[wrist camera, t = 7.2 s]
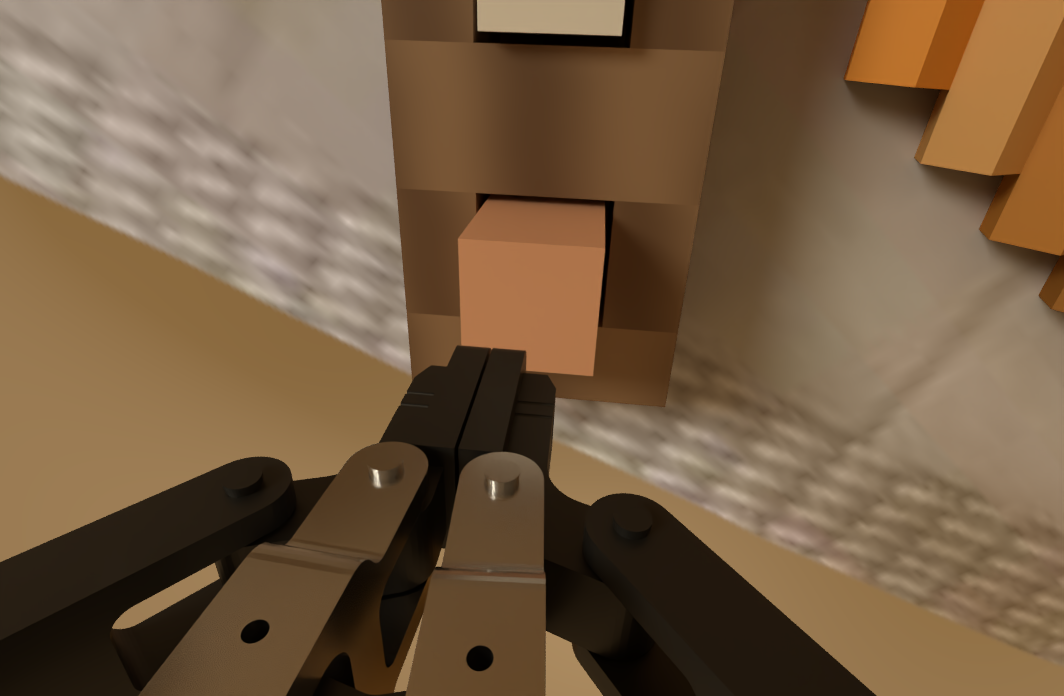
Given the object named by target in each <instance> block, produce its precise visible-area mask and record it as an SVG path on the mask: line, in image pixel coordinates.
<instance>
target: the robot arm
mask: <svg viewBox="0 0 1064 696" xmlns="http://www.w3.org/2000/svg"><path fill="white" fill-rule="evenodd" d="M526 358H527V356H526V350H513V349H501V348H492V350H491V348H488V347H476V346H463V345H457V346H456V348H455V350H454V352H453V354H452V356H451V359H450V361H449V363H448V365H447V366H435V365H431V366H429V367H428V368H426V369H425V370H424V371H422V372H421V373H419V374H418V375H417V376H415V377H414V379H413V381H412V383H411V385H410V387H409V388H408V390H407V394H405V396H404V398H403V399H402V401H401V405H400V406H399V407H398V409H397V411H396V412H395V414H394V416H393V418H392V420H391V422H390V423H389V425H388V427H387V429H386V431H385V433H384V434H383V437H382V438H381V440H380V442H379V443H377V444H373V445H370V446H367V447H365V448H363V449H361V450H360V451H358V452H356V453H355V454H354V455H352V456H351V457H350V458H349V459H348V461H347V462H346V463H345V464H344V466H343V467H342V469H341V470H340V472H339V473H338V474H336V475H332V476H327V477H320V478H312V479H305V480H297V481H293V479H292V474H291V471H290V468H289V467H288V466H287V465H286V464H285V463H284V462H282V461H280V460H278V459H275V458H270V457H250V458H244V459H240V460H236V461H233V462H231V463H228V464H226V465H223V466H221V467H219V468H216V469H214V470H212V471H210V472H207V473H205V474H203V475H200V476H198V477H196V478H193V479H191V480H189V481H186V482H184V483H182V484H180V485H177V486H175V487H173V488H170V489H168V490H166V491H163V492H161V493H159V494H156V495H154V496H152V497H149V498H147V499H145V500H143V501H140V502H138V503H136V504H133V505H131V506H129V507H127V508H124V509H122V510H120V511H117V512H115V513H113V514H111V515H108V516H106V517H103V518H101V519H99V520H96V521H94V522H92V523H90V524H87V525H85V526H83V527H80V528H78V529H76V530H74V531H71V532H69V533H67V534H64V535H62V536H60V537H57V538H55V539H53V540H50V541H48V542H46V543H43V544H41V545H39V546H37V547H34V548H32V549H30V550H27V551H25V552H23V553H21V554H18V555H16V556H14V557H11V558H9V559H7V560H5V561H2V562H0V696H545V687H546V686H545V684H546V679H545V678H546V676H545V675H546V665H545V664H546V663H545V662H546V657H545V656H546V651H545V649H546V645H545V644H546V633H545V632H546V631H548V632H550V633H552V634H554V635H557V636H559V637H561V638H563V639H565V640H567V641H569V642H572V646H573V651H574V653H575V656H576V658H577V660H578V661H579V663H580V664H581V666H582V667H583V668H584V670H585V671H586V672H587V674H588V675H589V677H590V678H591V679H592V681H593V682H594V684H596V686H597V688H598V689H599V690H600V692H601V693H602V695H603V696H876V695H875V694H874V693H873V692H872V691H870V690H869V689H868V688H867V687H866V686H865V685H864V684H862V682H860V681H859V680H858V679H857V678H856V677H855V676H854V675H852V674H851V673H850V672H849V671H848V670H847V669H846V668H845V667H843V666H842V665H841V664H840V663H839V662H838V661H837V660H836V659H834V658H833V657H832V656H831V655H830V654H829V653H828V652H826V651H825V650H824V649H823V648H822V647H821V646H820V645H819V644H817V643H816V642H815V641H814V640H813V639H812V638H811V637H810V636H808V635H807V634H806V633H805V632H804V631H803V630H802V629H800V628H799V627H798V626H797V625H796V624H795V623H794V622H792V621H791V620H790V619H789V618H788V617H787V616H786V615H784V614H783V613H782V612H781V611H780V610H779V609H778V608H777V607H776V606H774V605H773V604H772V603H771V602H770V601H769V600H767V599H766V598H765V597H764V596H763V595H762V594H761V593H760V592H759V591H757V590H756V589H755V588H754V587H753V586H752V585H751V584H749V583H748V582H747V581H746V580H745V579H744V578H743V577H742V576H741V575H739V574H738V573H737V572H736V571H735V570H734V569H733V568H731V567H730V566H729V565H728V564H727V563H726V562H725V561H723V560H722V559H721V558H720V557H719V556H718V555H717V554H716V553H714V552H713V551H712V550H711V549H710V548H709V547H708V546H707V545H705V544H704V543H703V542H702V541H701V540H699V538H698V537H696V536H695V535H694V534H693V533H692V532H691V531H689V530H688V529H687V528H686V527H685V526H684V525H683V524H682V523H681V522H679V521H678V520H677V519H676V518H675V517H674V516H673V515H672V514H670V513H669V512H668V511H667V510H666V509H665V508H663V507H662V506H661V505H659V504H658V503H656V502H654V501H653V500H650V499H648V498H646V497H643V496H639V495H634V494H626V493H620V494H612V495H608V496H605V497H602V498H600V499H599V500H597V501H596V502H595V503H593V504H592V505H591V506H589V505H587V504H584V503H581V502H578V501H576V500H573V499H571V498H569V497H567V496H566V495H564V494H563V493H562V492H560V491H559V490H558V489H557V488H556V487H555V486H554V484H553V483H552V482H551V480H550V478H549V469H550V460H551V451H552V439H553V425H554V411H555V397H556V388H555V386H554V384H553V383H552V381H551V379H550V378H549V376H548V375H543V374H531V373H526ZM441 548H445V552H444V557H443V562H442V566H441V567H435V566H436V564H437V561H438V557H439V554H440V551H441ZM213 563H215V565H216V568H217V571H218V574H219V577H220V579H218V580H217V581H215V582H213V583H211V584H210V585H208V586H206V587H204V588H202V589H200V590H199V591H197V592H195V593H193V594H191V595H190V596H188V597H186V598H185V599H183V600H181V601H179V602H177V603H175V604H173V605H172V606H170V607H168V608H167V609H164V610H163V611H161V612H159V613H157V614H155V615H154V616H152V617H150V618H148V619H146V620H145V621H143V622H141V623H139V624H137V625H135V626H133V627H130V628H126V629H113V628H112V626H113V624H114V623H115V621H116V620H117V619H118V618H119V617H120V616H121V615H122V614H123V613H124V612H125V611H127V610H128V609H129V608H131V607H133V606H134V605H136V604H138V603H140V602H142V601H143V600H145V599H147V598H149V597H151V596H153V595H155V594H157V593H159V592H160V591H162V590H164V589H166V588H168V587H170V586H172V585H174V584H175V583H177V582H179V581H181V580H183V579H185V578H187V577H188V576H190V575H192V574H194V573H196V572H198V571H199V570H202V569H203V568H205V567H207V566H209V565H211V564H213ZM422 615H423V617H422ZM421 618H422V622H421V627H420V631H419V635H418V640H417V645H416V649H415V654H414V659H413V663H412V668H411V673H410V677H409V682H408V687H407V691H402V692H395V693H394V690H395V686H396V683H397V679H398V677H399V674H400V672H401V669H402V666H403V664H404V661H405V659H406V656H407V653H408V651H409V649H410V646H411V643H412V641H413V638H414V636H415V633H416V631H417V628H418V626H419V623H420V620H421Z"/></svg>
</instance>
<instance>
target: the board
mask: <svg viewBox="0 0 1064 696" xmlns="http://www.w3.org/2000/svg"><path fill="white" fill-rule="evenodd" d="M381 3H382V15H383V28H384V40H385V52H386V64H387V76H388V89H389V101H390V113H391V125H392V138H393V150H394V162H395V174H396V186H397V199H398V211H399V223H400V235H401V248H402V260H403V272H404V284H405V296H406V309H407V321H408V333H409V345H410V358H411V370H412V381H413V379H414V377H415V376H417V375H418V374H419V373H421V372H422V371H424V370H425V369H426V368H428V367H429V366H431V365H435V366H447V365H448V363H449V361H450V359H451V356H452V354H453V352H454V350H455V348H456V346H457V345H461V317H460V286H459V256H458V238H459V237H460V235H461V234H462V233H463V231H464V230H465V228H466V227H467V226H468V224H469V223H470V222H471V220H472V219H473V218H474V216H475V215H476V214H477V212H478V211H479V210H480V208H481V207H482V206H483V204H484V203H485V201H486V200H487V199H488V197H489V196H490V195H491V194H504V195H521V196H538V197H556V198H573V199H591V200H605V255H604V265H603V276H602V286H601V297H600V307H599V318H598V328H597V339H596V350H595V360H594V371H593V376H584V375H572V374H560V373H548V372H536V371H526V373H531V374H543V375H548V376H549V378H550V379H551V381H552V383H553V384H554V386H555V388H556V398H568V399H579V400H591V401H602V402H614V403H626V404H637V405H649V406H660V407H665V404H666V399H667V393H668V387H669V381H670V375H671V369H672V363H673V357H674V352H675V346H676V340H677V334H678V328H679V322H680V316H681V311H682V305H683V299H684V293H685V287H686V281H687V275H688V270H689V264H690V258H691V252H692V246H693V240H694V234H695V229H696V223H697V217H698V211H699V205H700V199H701V193H702V188H703V182H704V176H705V170H706V164H707V158H708V152H709V147H710V141H711V135H712V129H713V123H714V117H715V111H716V106H717V100H718V94H719V88H720V82H721V76H722V70H723V65H724V59H725V53H726V47H727V41H728V35H729V29H730V24H731V18H732V12H733V6H734V0H625V5H624V16H623V26H622V36H620V37H596V36H567V35H537V34H507V33H495V32H484V31H478V26H477V0H381Z"/></svg>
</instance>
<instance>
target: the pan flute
mask: <svg viewBox="0 0 1064 696" xmlns="http://www.w3.org/2000/svg"><path fill="white" fill-rule="evenodd" d="M844 80H850V81H859V82H869V83H878V84H888V85H897V86H907V87H917V88H931V89H941V90H940V93H939V95H938V98H937V100H936V103H935V105H934V108H933V111H932V113H931V116H930V118H929V121H928V123H927V126H926V129H925V131H924V134H923V136H922V139H921V141H920V144H919V147H918V149H917V152H916V154H915V157H914V158H915V159H916V160H917V161H918V162H919V163H920V164H926V165H932V166H938V167H943V168H949V169H955V170H961V171H967V172H972V173H978V174H984V175H990V176H995V175H1004V177H1003V179H1002V181H1001V183H1000V186H999V188H998V190H997V192H996V194H995V196H994V198H993V201H992V203H991V205H990V207H989V209H988V211H987V213H986V216H985V218H984V220H983V222H982V224H981V226H980V228H979V230H980V231H981V232H982V233H983V234H984V235H985V236H986V237H987V238H988V239H989V240H993V241H998V242H1002V243H1006V244H1011V245H1015V246H1020V247H1024V248H1029V249H1033V250H1037V251H1042V252H1046V253H1051V254H1055V255H1060V257H1059V259H1058V261H1057V263H1056V265H1055V266H1054V268H1053V270H1052V272H1051V274H1050V275H1049V277H1048V279H1047V281H1046V283H1045V285H1044V286H1043V288H1042V290H1041V292H1040V294H1039V297H1040V298H1041V299H1042V300H1043V301H1044V302H1045V303H1046V304H1047V305H1048V306H1049V307H1050V308H1051V309H1053V310H1057V311H1061V312H1064V0H868V2H867V5H866V8H865V12H864V15H863V18H862V21H861V25H860V28H859V31H858V34H857V37H856V41H855V44H854V47H853V50H852V53H851V57H850V60H849V63H848V66H847V70H846V73H845V76H844Z"/></svg>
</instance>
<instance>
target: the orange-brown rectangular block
mask: <svg viewBox="0 0 1064 696" xmlns="http://www.w3.org/2000/svg"><path fill="white" fill-rule="evenodd" d="M604 255H605V200H591V199H573V198H556V197H538V196H521V195H504V194H491V195H490V196H489V197H488V199H487V200H486V201H485V203H484V204H483V206H482V207H481V208H480V210H479V211H478V212H477V214H476V215H475V216H474V218H473V219H472V220H471V222H470V223H469V224H468V226H467V227H466V228H465V230H464V231H463V233H462V234H461V235H460V237H459V238H458V256H459V286H460V317H461V345H463V346H476V347H488V348H491V350H492V348H501V349H513V350H526V356H527V358H526V371H536V372H548V373H560V374H572V375H584V376H593V371H594V360H595V350H596V339H597V328H598V318H599V307H600V297H601V286H602V276H603V265H604Z"/></svg>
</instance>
